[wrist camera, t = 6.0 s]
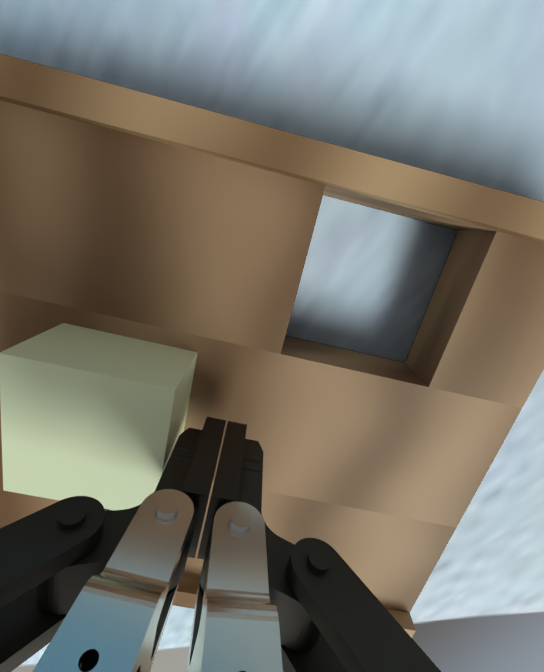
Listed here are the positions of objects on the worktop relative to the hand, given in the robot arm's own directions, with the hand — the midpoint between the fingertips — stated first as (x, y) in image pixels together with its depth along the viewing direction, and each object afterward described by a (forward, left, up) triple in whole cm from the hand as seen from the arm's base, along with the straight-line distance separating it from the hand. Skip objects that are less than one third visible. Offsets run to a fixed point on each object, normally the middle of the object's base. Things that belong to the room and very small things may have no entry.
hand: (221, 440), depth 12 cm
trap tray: (0, 0, -4) cm, 4 cm away
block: (+4, 0, -1) cm, 4 cm away
